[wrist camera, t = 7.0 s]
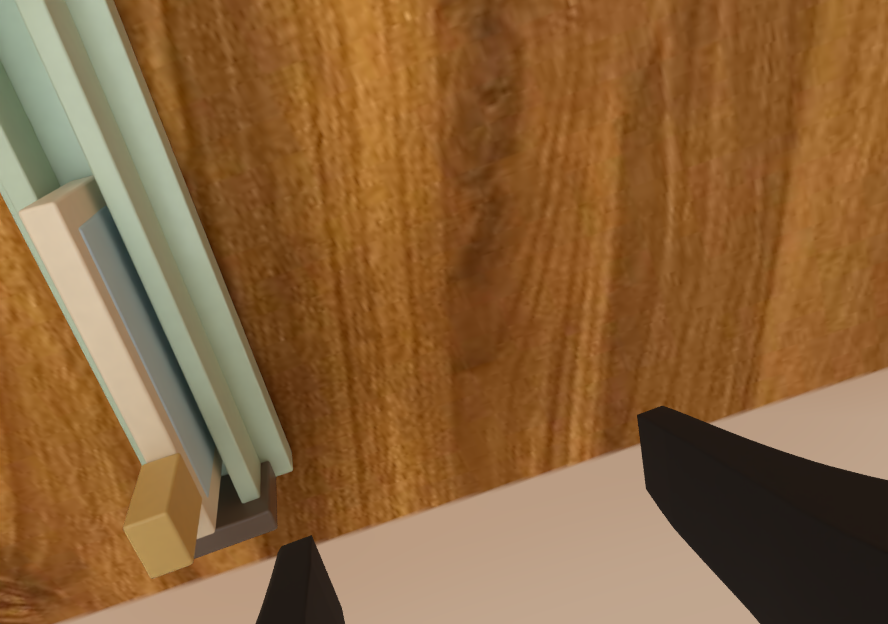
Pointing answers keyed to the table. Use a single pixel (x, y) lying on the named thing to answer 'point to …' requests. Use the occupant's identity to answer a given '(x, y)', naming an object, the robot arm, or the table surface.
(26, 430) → the table surface
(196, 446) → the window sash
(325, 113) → the table surface
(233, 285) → the table surface
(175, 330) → the green sliding track
